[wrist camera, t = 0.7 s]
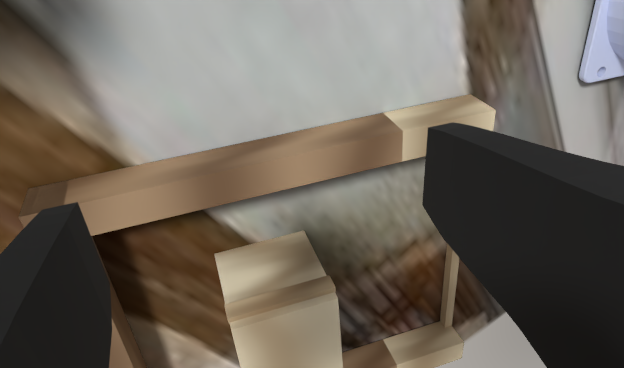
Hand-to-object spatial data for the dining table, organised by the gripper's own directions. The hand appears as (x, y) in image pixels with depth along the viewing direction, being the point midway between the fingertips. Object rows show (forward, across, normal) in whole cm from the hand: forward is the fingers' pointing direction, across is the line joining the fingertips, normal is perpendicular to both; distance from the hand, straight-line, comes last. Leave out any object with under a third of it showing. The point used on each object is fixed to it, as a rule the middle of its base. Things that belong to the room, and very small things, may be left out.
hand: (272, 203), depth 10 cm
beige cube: (+10, -1, +12) cm, 16 cm away
